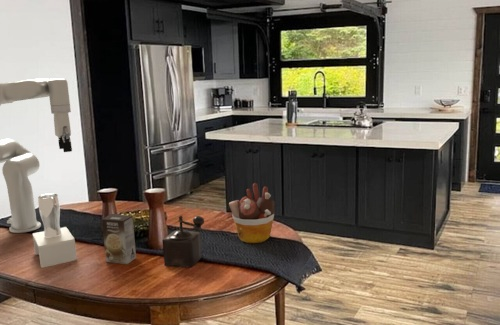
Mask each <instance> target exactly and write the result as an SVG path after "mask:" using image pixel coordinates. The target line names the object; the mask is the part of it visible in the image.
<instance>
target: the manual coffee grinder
mask: <svg viewBox="0 0 500 325" xmlns="http://www.w3.org/2000/svg"><path fill="white" fill-rule="evenodd" d="M178 222H179V229H178V230H176V229H175V230H174V231H172V232H170V233H169V234H168V235H167V236H165V237H164V238H163V239H162V242H161V243H162V250H163V264H164V266H165V267H173V268H193V267H194V266H195V265H196V264H197V263H198V262H199V261H200V260H201V258H202V257H203V255H202V254H203V252H202V240H201V238H202V237H201V232H200V231H201V230H202V226H203V225H204V224H205V218H204V217H202V216H201V215H196V216H195V217H193V219H192V222H193V223H191V222H188V221H184V219H183V215H179V216H178ZM183 224H184V225H186V226H191V227H192V228H193V230H194V231H192V230H191V231H189V230H188V229H187V230H186V229H184V228H183ZM201 256H202V257H201Z"/></svg>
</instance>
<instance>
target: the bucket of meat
mask: <svg viewBox="0 0 500 325" xmlns="http://www.w3.org/2000/svg"><path fill="white" fill-rule="evenodd" d="M252 191H253V193H252ZM246 195H247V196H243V197H242V198H241V199H240V200H239V199H236V200H233V201H230V202H229V203H228V205H229V209H230V211H231V216H232V219H233V222H234V225H235V229H236V232H237V235H238V238H239V239H240V241H241V242H243V243H247V244H260V243H263V242H265V241H266V240H268V239H270V237H271V232H272V226H273V222H274V217H275V201H274V200H273V199H270V198H271V196H272V194H270V193H269V188H268V186H263V188H262V194H261V197H260V192H259V187H258V183H257V182H254V183H253V184H252V190H251V189H250V188H247V189H246Z"/></svg>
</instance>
